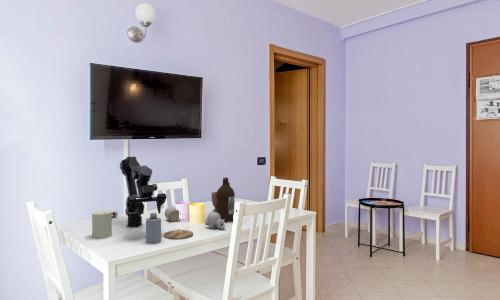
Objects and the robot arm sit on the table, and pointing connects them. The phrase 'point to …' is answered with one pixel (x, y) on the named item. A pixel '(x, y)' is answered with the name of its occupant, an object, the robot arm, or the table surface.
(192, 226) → the table surface
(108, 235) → the can
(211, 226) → the chubby cartoon animal
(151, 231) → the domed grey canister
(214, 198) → the mortar and pestle
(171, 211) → the ceramic mug
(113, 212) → the grandmother figurine
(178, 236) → the cheese board
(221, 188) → the olive oil
